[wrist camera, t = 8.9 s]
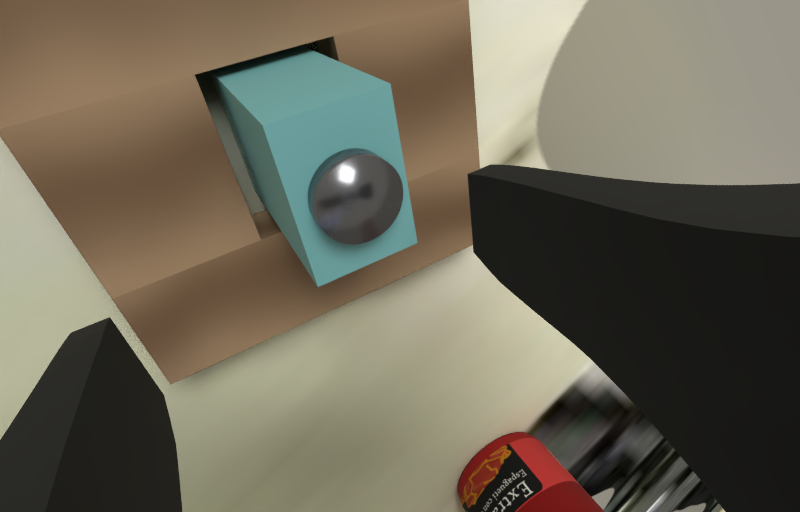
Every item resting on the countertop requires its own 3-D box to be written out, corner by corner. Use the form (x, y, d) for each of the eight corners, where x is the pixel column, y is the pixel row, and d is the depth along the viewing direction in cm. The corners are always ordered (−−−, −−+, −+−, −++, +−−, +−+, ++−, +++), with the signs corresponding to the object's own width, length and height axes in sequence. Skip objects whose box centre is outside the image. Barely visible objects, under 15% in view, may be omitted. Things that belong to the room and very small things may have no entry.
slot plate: (460, 221, 23) (484, 239, 22) (165, 350, 19) (170, 384, 18) (421, -155, 15) (456, -168, 13) (-110, -70, 11) (-145, -75, 9)
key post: (329, 163, 19) (428, 252, 13) (255, 190, 18) (325, 299, 12) (296, 43, 16) (403, 89, 10) (208, 68, 15) (270, 133, 9)
